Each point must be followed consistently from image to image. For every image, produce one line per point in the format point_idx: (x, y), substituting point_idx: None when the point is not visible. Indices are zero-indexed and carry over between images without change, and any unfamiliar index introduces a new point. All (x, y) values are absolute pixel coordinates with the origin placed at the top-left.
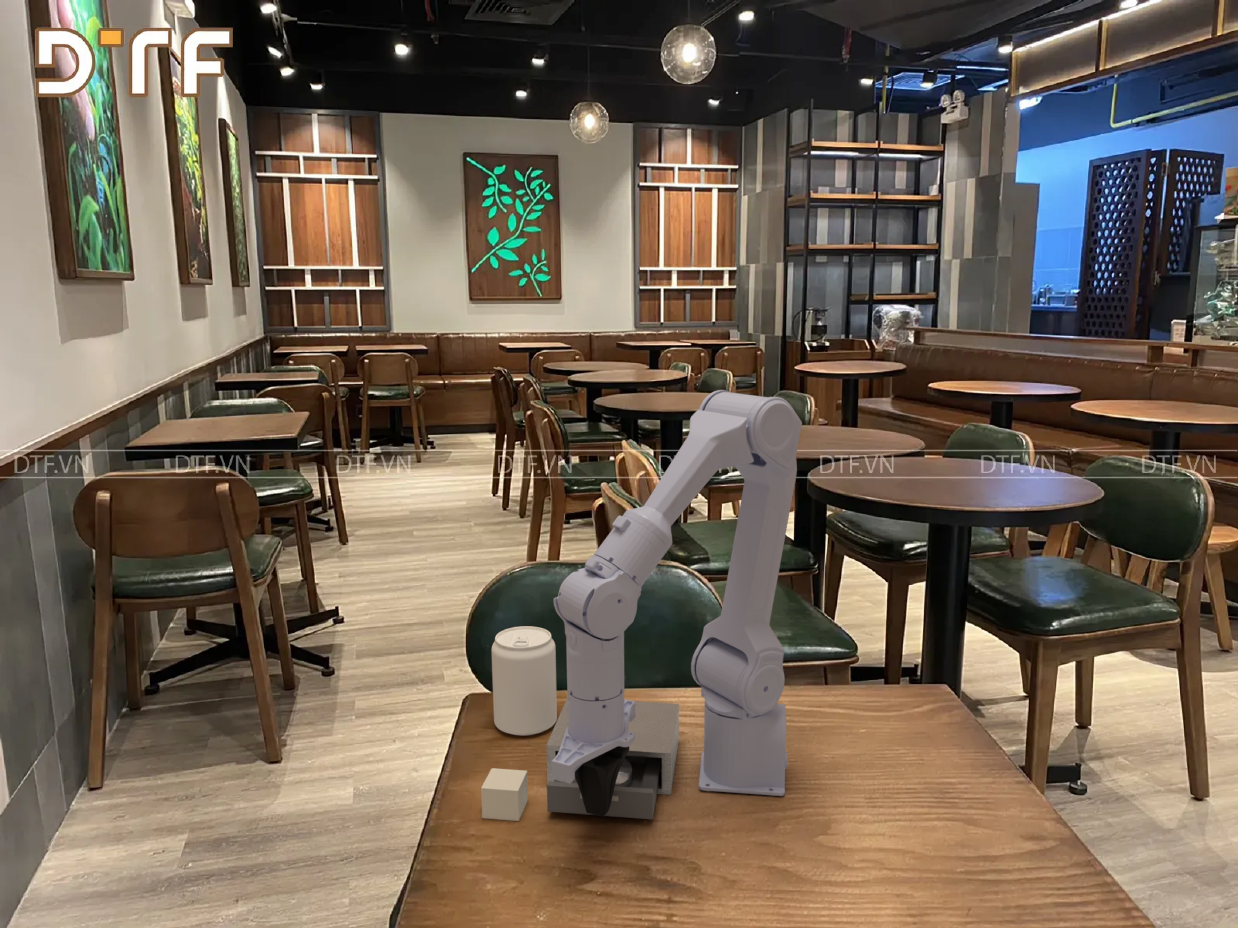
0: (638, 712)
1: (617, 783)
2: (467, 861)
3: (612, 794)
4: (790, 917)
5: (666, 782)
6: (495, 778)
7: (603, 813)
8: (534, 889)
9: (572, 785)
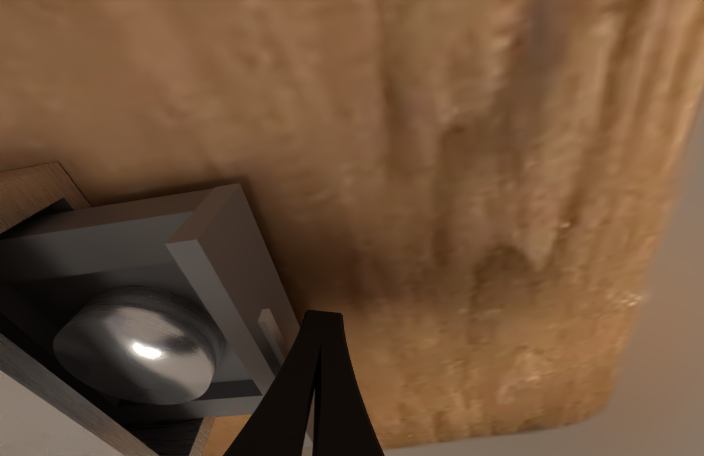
0: None
1: (179, 327)
2: (470, 409)
3: (296, 351)
4: None
5: (27, 195)
6: None
7: (342, 322)
8: (545, 328)
9: None
